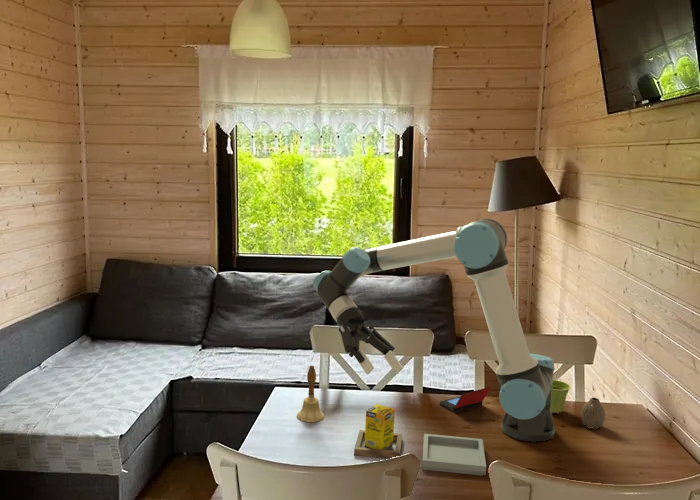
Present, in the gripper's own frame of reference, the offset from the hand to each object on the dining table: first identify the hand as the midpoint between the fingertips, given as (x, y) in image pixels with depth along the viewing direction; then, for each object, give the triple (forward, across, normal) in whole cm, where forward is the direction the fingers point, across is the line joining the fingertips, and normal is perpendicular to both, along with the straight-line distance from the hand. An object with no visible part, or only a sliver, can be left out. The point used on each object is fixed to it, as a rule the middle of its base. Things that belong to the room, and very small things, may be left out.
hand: (385, 371), depth 183 cm
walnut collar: (+14, 0, -15) cm, 21 cm away
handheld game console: (+9, -41, -7) cm, 43 cm away
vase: (+36, -56, +16) cm, 69 cm away
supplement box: (+14, 0, -15) cm, 21 cm away
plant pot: (+24, -59, +9) cm, 64 cm away
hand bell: (-8, -1, -31) cm, 32 cm away
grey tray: (+27, -9, -3) cm, 29 cm away
